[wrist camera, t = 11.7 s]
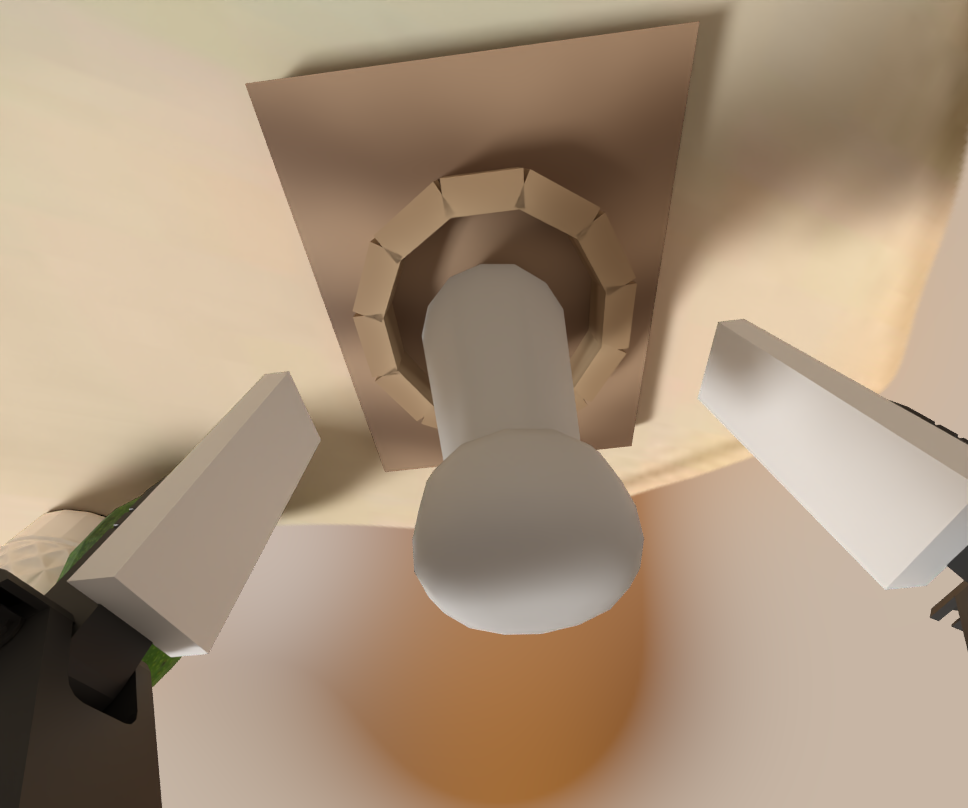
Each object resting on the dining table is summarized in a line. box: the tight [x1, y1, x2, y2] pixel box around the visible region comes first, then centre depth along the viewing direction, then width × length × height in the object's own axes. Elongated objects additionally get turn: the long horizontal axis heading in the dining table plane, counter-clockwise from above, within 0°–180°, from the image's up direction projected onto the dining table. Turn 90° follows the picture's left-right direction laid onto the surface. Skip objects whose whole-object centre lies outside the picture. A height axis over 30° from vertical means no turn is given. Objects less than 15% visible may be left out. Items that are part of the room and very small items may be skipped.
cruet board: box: [246, 21, 700, 472], centre depth 17 cm, size 18×15×4 cm
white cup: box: [0, 510, 106, 595], centre depth 23 cm, size 8×8×10 cm
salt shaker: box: [413, 264, 644, 635], centre depth 11 cm, size 6×6×13 cm
